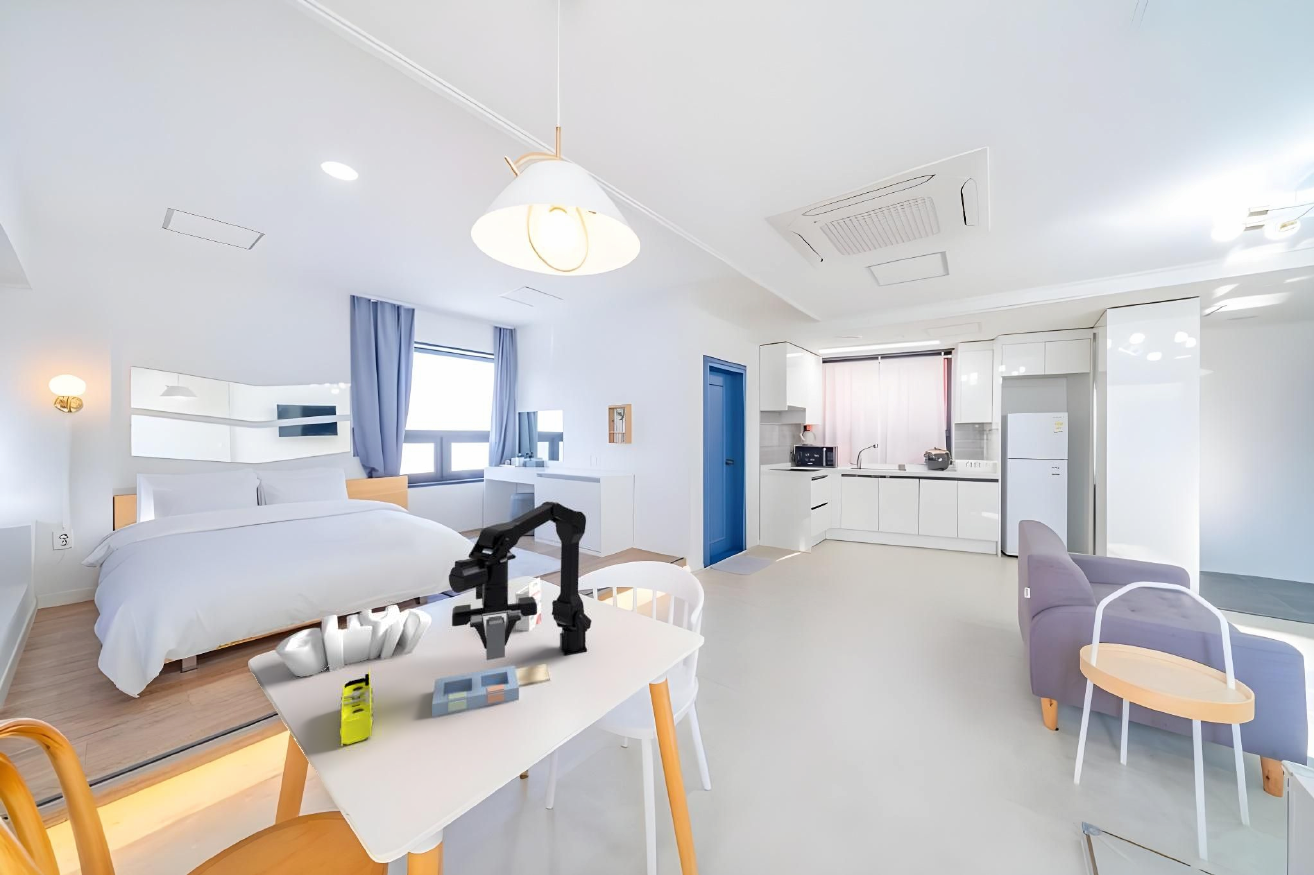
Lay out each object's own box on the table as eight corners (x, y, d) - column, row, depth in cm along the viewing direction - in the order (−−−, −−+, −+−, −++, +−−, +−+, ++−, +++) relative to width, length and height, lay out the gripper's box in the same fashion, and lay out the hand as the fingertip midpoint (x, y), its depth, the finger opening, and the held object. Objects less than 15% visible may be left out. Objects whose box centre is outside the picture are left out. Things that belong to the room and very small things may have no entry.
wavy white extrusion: (427, 632, 143) (428, 598, 143) (432, 654, 128) (432, 616, 128) (284, 659, 125) (284, 620, 125) (271, 688, 111) (271, 644, 111)
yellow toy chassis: (374, 740, 92) (374, 698, 92) (339, 751, 89) (339, 708, 89) (372, 701, 105) (372, 665, 105) (341, 709, 102) (342, 672, 102)
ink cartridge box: (527, 620, 152) (527, 575, 152) (541, 621, 151) (541, 576, 151) (514, 630, 144) (514, 583, 144) (529, 632, 143) (529, 584, 143)
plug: (503, 649, 112) (503, 614, 112) (504, 657, 108) (504, 620, 108) (486, 652, 110) (486, 616, 110) (486, 660, 106) (486, 623, 106)
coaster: (545, 666, 121) (545, 663, 121) (550, 681, 114) (550, 678, 114) (513, 672, 118) (513, 669, 118) (516, 688, 111) (516, 685, 111)
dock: (514, 677, 116) (514, 664, 116) (519, 701, 105) (519, 686, 105) (435, 692, 109) (435, 678, 109) (431, 718, 99) (432, 703, 99)
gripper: (531, 567, 120) (531, 627, 120) (453, 575, 113) (453, 639, 113) (537, 580, 110) (537, 645, 110) (452, 589, 103) (451, 659, 103)
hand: (495, 646), depth 109 cm, fingers closed on plug, 4 cm apart
